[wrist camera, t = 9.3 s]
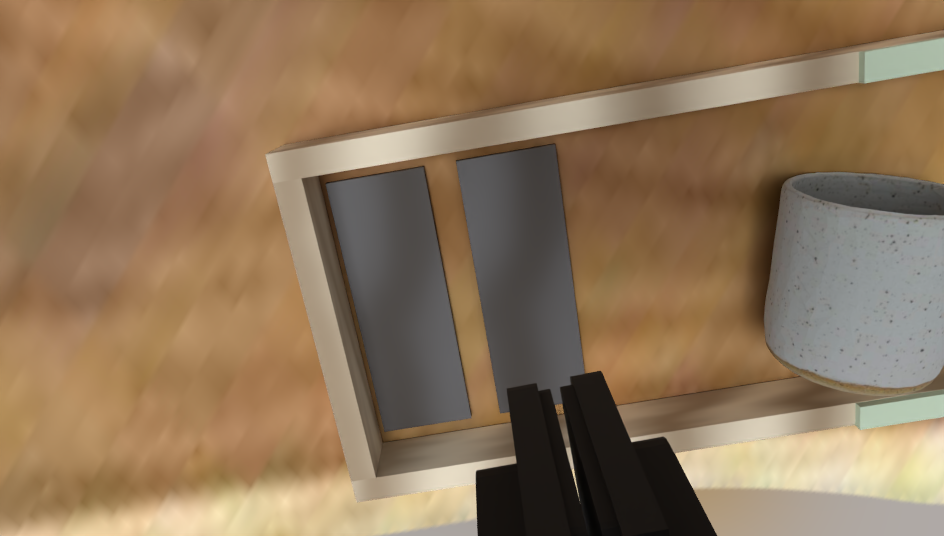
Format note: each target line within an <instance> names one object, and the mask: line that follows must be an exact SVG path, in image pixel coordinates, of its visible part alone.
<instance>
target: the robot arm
mask: <svg viewBox="0 0 944 536" xmlns="http://www.w3.org/2000/svg"><path fill="white" fill-rule="evenodd" d="M570 382H571V385H567V386H562V387H560V392H561V398H562V404H563V409H564V415H565V421H566V426H567V432H568V437H569V443H570V449H571V454H572V460H573V465H574V471H575V477H576V482H577V488H578V493H579V497H578V493H577V489H576V486H575V482H574V478H573V474H572V470H571V466H570V463H569V459H568V455H567V451H566V447H565V443H564V439H563V436H562V432H561V428H560V424H559V420H558V416H557V413H556V409H555V405H554V401H553V397H552V393H551V390H550V389H546V390H540V391H538V387H537V383H533V384H528V385H522V386H517V387H512V388H507V396H508V404H509V411H510V418H511V426H512V433H513V440H514V448H515V455H516V463H515V464H509V465H504V466H498V467H493V468H487V469H482V470H476V501H477V528H478V536H717V535H716V533H715V531H714V529H713V527H712V525H711V523H710V521H709V519H708V517H707V515H706V513H705V512H704V510H703V508H702V506H701V504H700V502H699V500H698V498H697V496H696V494H695V492H694V490H693V488H692V486H691V484H690V482H689V480H688V479H687V477H686V475H685V473H684V471H683V469H682V467H681V465H680V463H679V461H678V459H677V457H676V455H675V454H674V452H673V450H672V448H671V446H670V444H669V442H668V441H667V439H666V438H665V437H657V438H652V439H646V440H641V441H635V442H631V439H630V437H629V435H628V432H627V430H626V428H625V425H624V423H623V421H622V418H621V416H620V414H619V411H618V409H617V407H616V404H615V402H614V400H613V397H612V395H611V393H610V390H609V388H608V386H607V383H606V381H605V379H604V376H603V374H602V372H601V371H597V372H592V373H586V374H581V375H576V376H570ZM579 499H580V501H579Z"/></svg>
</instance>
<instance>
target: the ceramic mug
mask: <svg viewBox="0 0 944 536" xmlns="http://www.w3.org/2000/svg"><path fill="white" fill-rule="evenodd" d="M764 328H765V340H766V344H767V346H768V348H769V350H770V352H771V353H772V354H773V356H774V357H775V358H776V359H777V360H778V361H779V362H780V363H781V364H783V365H784V366H785V367H786V368H788V369H789V370H791V371H792V372H794V373H795V374H797V375H799V376H801V377H803V378H805V379H808V380H810V381H812V382H814V383H817V384H820V385H822V386H826V387H829V388H833V389H836V390H840V391H844V392H849V393H854V394H862V395H871V396H894V395H902V394H908V393H912V392H915V391H918V390H921V389H923V388H924V387H926V386H927V385H929V384H931V383H932V382H933V380H934V379H935V378H936V377H937V376H938V374H939V373H940V371H941V369H942V368H943V366H944V184H940V183H935V182H930V181H924V180H918V179H912V178H907V177H897V176H890V175H881V174H862V173H849V172H817V173H807V174H802V175H798V176H794V177H791V178H789V179H787V180H786V181H785V182H784V184H783V186H782V189H781V197H780V206H779V213H778V220H777V226H776V233H775V240H774V247H773V255H772V263H771V271H770V279H769V285H768V290H767V295H766V300H765V312H764Z"/></svg>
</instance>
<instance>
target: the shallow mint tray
mask: <svg viewBox="0 0 944 536" xmlns="http://www.w3.org/2000/svg"><path fill="white" fill-rule="evenodd" d="M940 70H944V37H942V38H936V39H930V40H924V41H919V42H913V43H907V44H901V45H896V46H890V47H884V48H878V49H873V50H867V51H861V52H859V83H870V82H876V81H881V80H887V79H893V78H899V77H905V76H910V75H916V74H922V73H928V72H934V71H940ZM940 417H944V389H942V390H936V391H929V392H923V393H916V394H910V395H904V396H897V397H891V398H884V399H878V400H872V401H865V402H859V403H855V426H857V427H858V428H859V429H860V430H862V429H869V428H875V427H882V426H888V425H895V424H901V423H908V422H914V421H920V420H927V419H933V418H940Z"/></svg>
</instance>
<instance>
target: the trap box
mask: <svg viewBox="0 0 944 536" xmlns="http://www.w3.org/2000/svg"><path fill="white" fill-rule="evenodd" d="M942 37H944V30H941V31H935V32H929V33H924V34H918V35H912V36H906V37H901V38H895V39H889V40H883V41H878V42H872V43H866V44H860V45H855V46H849V47H843V48H837V49H832V50H826V51H820V52H814V53H809V54H803V55H797V56H791V57H786V58H780V59H774V60H768V61H763V62H757V63H751V64H745V65H740V66H734V67H728V68H722V69H717V70H711V71H705V72H699V73H694V74H688V75H682V76H676V77H671V78H665V79H659V80H653V81H648V82H642V83H636V84H630V85H625V86H619V87H613V88H607V89H602V90H596V91H590V92H584V93H579V94H573V95H567V96H561V97H556V98H550V99H544V100H538V101H533V102H527V103H521V104H515V105H510V106H504V107H498V108H492V109H487V110H481V111H475V112H469V113H464V114H458V115H452V116H446V117H441V118H435V119H429V120H423V121H418V122H412V123H406V124H400V125H395V126H389V127H383V128H377V129H372V130H366V131H360V132H354V133H349V134H343V135H337V136H331V137H326V138H320V139H314V140H308V141H303V142H297V143H291V144H285V145H282V146H280V147H279V148H277V149H275V150H273V151H271V152H269V153H267V154H265V155H266V159H267V163H268V167H269V170H270V174H271V178H272V182H273V186H274V189H275V193H276V197H277V201H278V205H279V209H280V212H281V216H282V220H283V224H284V228H285V231H286V235H287V239H288V243H289V247H290V250H291V254H292V258H293V262H294V266H295V269H296V273H297V277H298V281H299V285H300V288H301V292H302V296H303V300H304V304H305V307H306V311H307V315H308V319H309V323H310V326H311V330H312V334H313V338H314V342H315V345H316V349H317V353H318V357H319V361H320V364H321V368H322V372H323V376H324V380H325V383H326V387H327V391H328V395H329V399H330V402H331V406H332V410H333V414H334V418H335V421H336V425H337V429H338V433H339V437H340V440H341V444H342V448H343V452H344V456H345V459H346V463H347V467H348V471H349V475H350V478H351V482H352V486H353V490H354V494H355V497H356V501H357V502H363V501H369V500H376V499H382V498H388V497H395V496H401V495H408V494H414V493H421V492H427V491H434V490H440V489H446V488H453V487H459V486H466V485H472V484H476V470H482V469H487V468H493V467H498V466H504V465H509V464H515V463H516V455H515V448H514V440H513V433H512V426H511V423H505V424H499V425H492V426H486V427H480V428H473V429H467V430H461V431H454V432H448V433H442V434H435V435H429V436H423V437H416V438H410V439H404V440H397V441H391V442H385V443H383V442H382V438H381V434H380V429H379V425H378V421H377V417H376V413H375V409H374V405H373V400H372V396H371V392H370V388H369V384H368V380H367V375H366V371H365V367H364V363H363V359H362V355H361V351H360V346H359V342H358V338H357V334H356V330H355V326H354V321H353V317H352V313H351V309H350V305H349V301H348V297H347V292H346V288H345V284H344V280H343V276H342V272H341V268H340V263H339V259H338V255H337V251H336V247H335V243H334V238H333V234H332V230H331V226H330V222H329V218H328V214H327V209H326V205H325V201H324V197H323V193H322V189H321V184H320V180H319V176H318V175H324V174H330V173H336V172H342V171H347V170H353V169H359V168H365V167H371V166H376V165H382V164H388V163H394V162H400V161H406V160H411V159H417V158H423V157H429V156H435V155H440V154H446V153H452V152H458V151H464V150H469V149H475V148H481V147H487V146H493V145H499V144H504V143H510V142H516V141H522V140H528V139H533V138H539V137H545V136H551V135H557V134H562V133H568V132H574V131H580V130H586V129H592V128H597V127H603V126H609V125H615V124H621V123H626V122H632V121H638V120H644V119H650V118H655V117H661V116H667V115H673V114H679V113H685V112H690V111H696V110H702V109H708V108H714V107H719V106H725V105H731V104H737V103H743V102H748V101H754V100H760V99H766V98H772V97H777V96H783V95H789V94H795V93H801V92H807V91H812V90H818V89H824V88H830V87H836V86H841V85H847V84H853V83H859V52H861V51H867V50H873V49H878V48H884V47H890V46H896V45H901V44H907V43H913V42H919V41H924V40H930V39H936V38H942ZM456 164H457V170H458V175H459V181H460V187H461V192H462V198H463V204H464V210H465V215H466V221H467V227H468V232H469V238H470V244H471V249H472V255H473V261H474V266H475V272H476V278H477V284H478V289H479V295H480V301H481V306H482V312H483V318H484V323H485V329H486V335H487V340H488V346H489V352H490V358H491V363H492V369H493V375H494V380H495V386H496V392H497V397H498V403H499V409H500V413H506V412H510V411H509V404H508V396H507V388H512V387H517V386H522V385H528V384H533V383H537V387H538V391H540V390H546V389H550V390H551V393H552V397H553V401H554V405H556V404H562V398H561V392H560V387H562V386H567V385H571V382H570V376H576V375H581V374H585V373H584V365H583V357H582V349H581V342H580V334H579V326H578V318H577V310H576V303H575V295H574V287H573V279H572V272H571V264H570V256H569V248H568V241H567V233H566V225H565V217H564V210H563V202H562V194H561V186H560V179H559V171H558V163H557V155H556V147H555V144H549V145H544V146H538V147H532V148H526V149H520V150H514V151H509V152H503V153H497V154H491V155H485V156H480V157H474V158H468V159H462V160H456ZM326 188H327V192H328V196H329V201H330V205H331V209H332V213H333V217H334V222H335V226H336V230H337V234H338V238H339V243H340V247H341V251H342V255H343V259H344V264H345V268H346V272H347V276H348V280H349V285H350V289H351V293H352V297H353V301H354V305H355V310H356V314H357V318H358V322H359V326H360V331H361V335H362V339H363V343H364V347H365V352H366V356H367V360H368V364H369V368H370V373H371V377H372V381H373V385H374V389H375V394H376V398H377V402H378V406H379V410H380V415H381V419H382V423H383V427H384V431H385V432H386V431H393V430H399V429H405V428H412V427H418V426H424V425H430V424H437V423H443V422H449V421H456V420H462V419H468V418H471V412H470V406H469V401H468V396H467V391H466V385H465V380H464V375H463V370H462V364H461V359H460V354H459V349H458V344H457V338H456V333H455V328H454V323H453V317H452V312H451V307H450V302H449V296H448V291H447V286H446V281H445V275H444V270H443V265H442V260H441V255H440V249H439V244H438V239H437V234H436V228H435V223H434V218H433V213H432V207H431V202H430V197H429V192H428V186H427V181H426V176H425V171H424V166H421V167H415V168H410V169H404V170H398V171H392V172H386V173H380V174H375V175H369V176H363V177H357V178H351V179H346V180H340V181H334V182H328V183H326ZM942 389H944V366H943V368H942V369H941V371H940V373H939V374H938V376H937V377H936V378H935V379H934V380H933V382H932V383H931V384H929V385H927V386H926V387H924V388H923V389H921V390H918V391H915V392H912V393H908V394H902V395H894V396H871V395H862V394H854V393H849V392H844V391H840V390H836V389H833V388H829V387H826V386H822V385H820V384H817V383H814V382H812V381H810V380H808V379H805V378H803V377H796V378H790V379H783V380H777V381H771V382H764V383H758V384H752V385H745V386H739V387H733V388H726V389H720V390H714V391H707V392H701V393H695V394H688V395H682V396H676V397H669V398H663V399H657V400H650V401H644V402H638V403H631V404H625V405H619V406H616V407H617V409H618V411H619V414H620V416H621V418H622V421H623V423H624V425H625V428H626V430H627V432H628V435H629V437H630V439H631V442H635V441H641V440H646V439H652V438H657V437H665V438H666V439H667V441H668V442H669V444H670V446H671V448H672V450H673V452H674V453H678V452H685V451H691V450H697V449H704V448H710V447H717V446H723V445H730V444H736V443H743V442H749V441H755V440H762V439H768V438H775V437H781V436H788V435H794V434H801V433H807V432H813V431H820V430H826V429H833V428H839V427H846V426H852V425H855V403H859V402H865V401H872V400H878V399H884V398H891V397H897V396H904V395H910V394H916V393H923V392H929V391H936V390H942ZM557 416H558V420H559V424H560V428H561V432H562V436H563V439H564V443H565V447H566V451H567V455H568V459H569V463H570V466H571V469H574V465H573V460H572V454H571V449H570V443H569V437H568V432H567V426H566V421H565V415H564V414H562V415H557Z"/></svg>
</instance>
